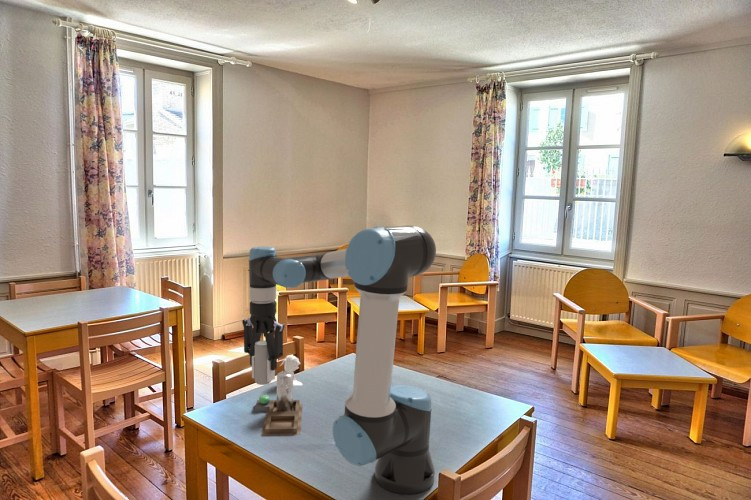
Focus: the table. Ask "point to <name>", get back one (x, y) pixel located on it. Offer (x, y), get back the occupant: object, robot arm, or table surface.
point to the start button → (264, 399)
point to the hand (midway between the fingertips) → (263, 378)
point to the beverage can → (261, 362)
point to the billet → (284, 391)
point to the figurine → (291, 367)
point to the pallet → (281, 419)
